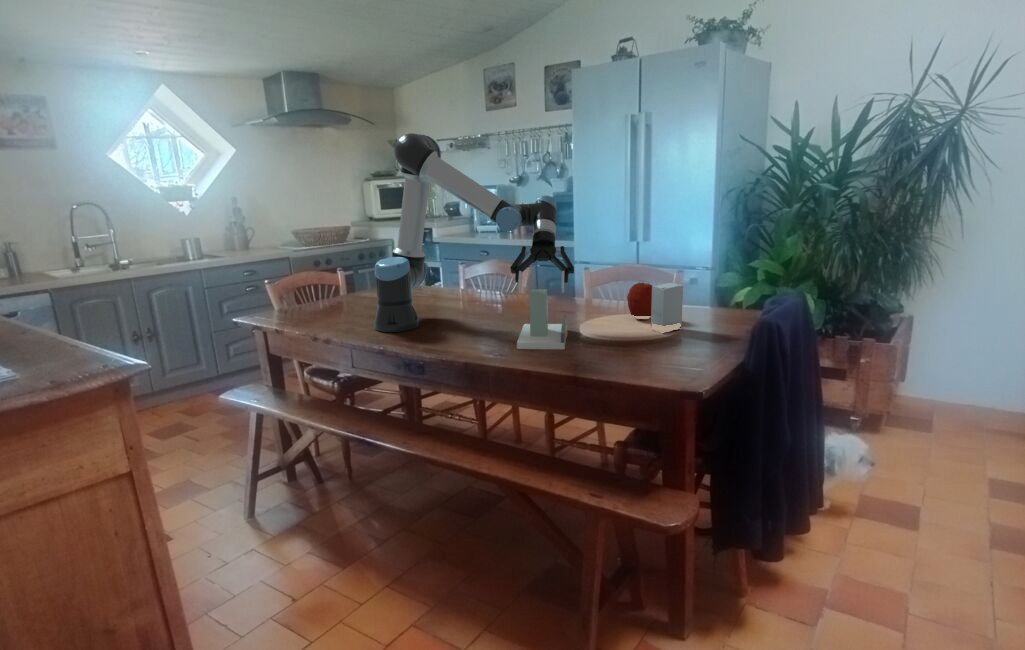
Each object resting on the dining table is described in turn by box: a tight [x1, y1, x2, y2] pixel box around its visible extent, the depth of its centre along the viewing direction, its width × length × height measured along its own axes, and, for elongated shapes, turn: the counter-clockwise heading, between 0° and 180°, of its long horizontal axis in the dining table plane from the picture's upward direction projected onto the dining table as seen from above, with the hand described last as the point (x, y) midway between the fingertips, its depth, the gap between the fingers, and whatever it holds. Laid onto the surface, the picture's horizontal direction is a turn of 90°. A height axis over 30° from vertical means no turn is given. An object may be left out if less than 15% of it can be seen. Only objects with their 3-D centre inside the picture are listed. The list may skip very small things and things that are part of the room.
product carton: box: [528, 288, 549, 336], centre depth 183 cm, size 5×8×13 cm, turn 174°
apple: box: [626, 282, 654, 316], centre depth 203 cm, size 10×10×14 cm
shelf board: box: [516, 314, 568, 350], centre depth 184 cm, size 15×22×5 cm, turn 173°
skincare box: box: [650, 282, 684, 326], centre depth 188 cm, size 8×6×15 cm
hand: (540, 290), depth 185 cm, fingers open, 13 cm apart
